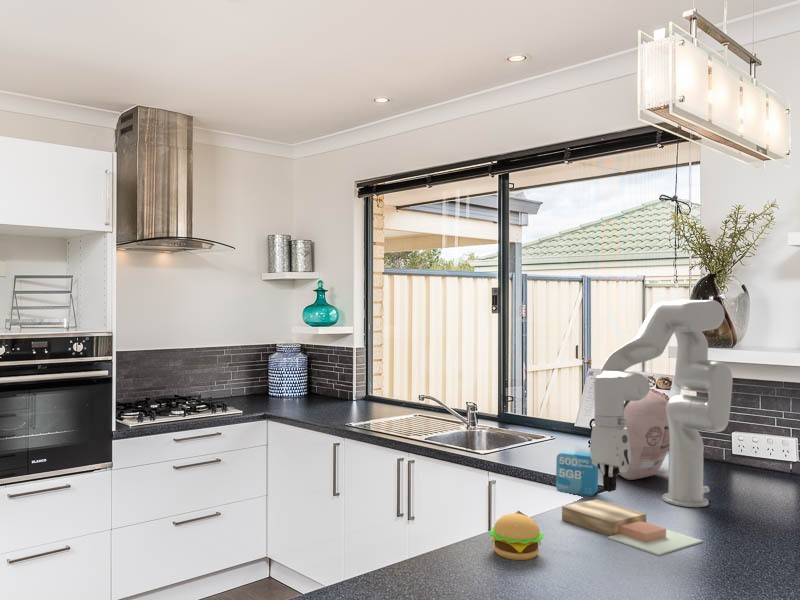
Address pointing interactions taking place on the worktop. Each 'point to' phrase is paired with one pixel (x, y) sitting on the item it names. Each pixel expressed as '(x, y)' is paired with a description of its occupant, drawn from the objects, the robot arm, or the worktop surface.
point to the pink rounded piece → (646, 435)
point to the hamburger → (516, 537)
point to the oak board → (600, 516)
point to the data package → (576, 473)
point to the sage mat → (659, 542)
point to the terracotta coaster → (642, 531)
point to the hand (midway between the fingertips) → (609, 490)
